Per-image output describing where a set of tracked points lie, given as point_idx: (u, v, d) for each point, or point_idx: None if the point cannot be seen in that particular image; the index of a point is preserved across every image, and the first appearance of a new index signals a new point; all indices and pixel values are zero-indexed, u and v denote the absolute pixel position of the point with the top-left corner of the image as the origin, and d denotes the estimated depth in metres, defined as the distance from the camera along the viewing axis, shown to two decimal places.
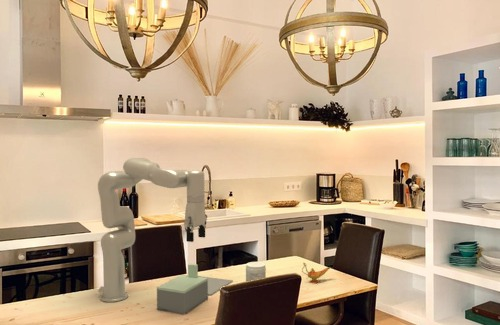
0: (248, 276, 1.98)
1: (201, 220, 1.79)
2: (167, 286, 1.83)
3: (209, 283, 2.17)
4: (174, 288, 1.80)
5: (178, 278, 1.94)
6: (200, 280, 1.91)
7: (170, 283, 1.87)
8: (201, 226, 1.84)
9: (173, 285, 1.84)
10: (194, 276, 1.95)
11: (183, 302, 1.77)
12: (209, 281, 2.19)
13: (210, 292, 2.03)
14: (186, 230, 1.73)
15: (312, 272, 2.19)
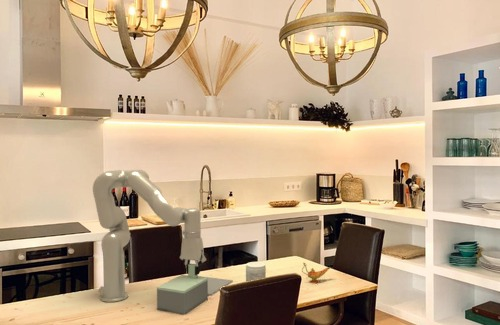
0: (248, 276, 1.98)
1: None
2: (167, 286, 1.83)
3: (209, 283, 2.17)
4: (174, 288, 1.80)
5: (178, 278, 1.94)
6: (200, 280, 1.91)
7: (170, 283, 1.87)
8: (188, 262, 1.97)
9: (173, 285, 1.84)
10: (194, 276, 1.95)
11: (183, 302, 1.77)
12: (209, 281, 2.19)
13: (210, 292, 2.03)
14: (199, 264, 1.94)
15: (312, 272, 2.19)
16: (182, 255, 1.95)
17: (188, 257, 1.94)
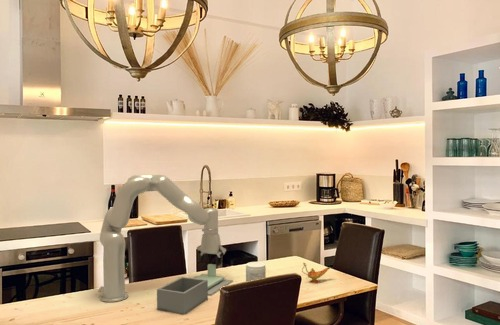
0: (248, 276, 1.98)
1: None
2: None
3: None
4: None
5: (199, 277, 2.22)
6: (218, 278, 2.18)
7: None
8: None
9: None
10: (213, 275, 2.22)
11: (183, 302, 1.77)
12: None
13: (210, 292, 2.03)
14: (221, 255, 2.20)
15: (312, 272, 2.19)
16: (202, 249, 2.22)
17: (207, 251, 2.20)
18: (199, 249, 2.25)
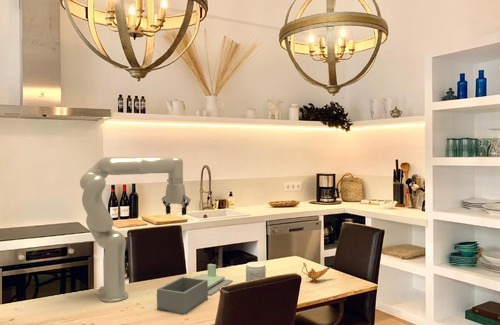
0: (248, 276, 1.98)
1: None
2: None
3: None
4: None
5: (199, 277, 2.22)
6: (218, 278, 2.18)
7: None
8: (168, 204, 2.20)
9: None
10: (213, 275, 2.22)
11: (183, 302, 1.77)
12: None
13: (210, 292, 2.03)
14: (186, 205, 2.15)
15: (312, 272, 2.19)
16: (166, 199, 2.18)
17: (171, 201, 2.16)
18: (164, 200, 2.21)
